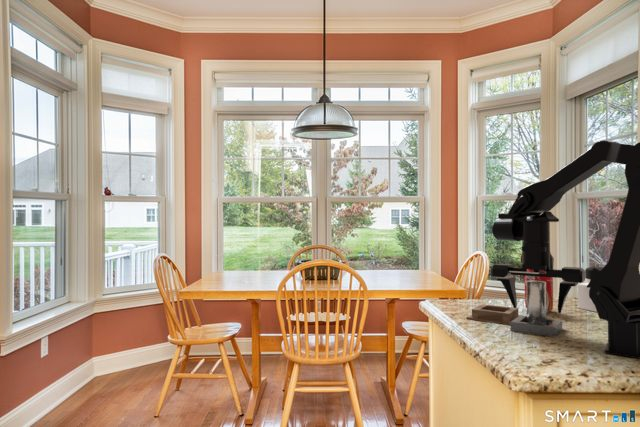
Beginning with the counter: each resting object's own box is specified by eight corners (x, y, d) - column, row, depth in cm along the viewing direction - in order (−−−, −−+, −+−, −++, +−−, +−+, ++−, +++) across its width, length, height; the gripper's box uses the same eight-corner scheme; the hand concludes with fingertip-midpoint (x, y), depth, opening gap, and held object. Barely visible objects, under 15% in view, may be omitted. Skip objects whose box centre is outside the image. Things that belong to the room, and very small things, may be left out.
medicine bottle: (599, 313, 116) (599, 268, 117) (577, 308, 123) (576, 266, 124) (620, 311, 118) (619, 268, 119) (597, 306, 125) (596, 265, 125)
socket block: (555, 337, 91) (555, 327, 91) (510, 330, 97) (510, 321, 97) (562, 328, 99) (562, 320, 99) (520, 323, 104) (520, 315, 104)
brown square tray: (512, 325, 102) (512, 315, 102) (466, 318, 109) (466, 309, 109) (523, 317, 111) (523, 307, 111) (480, 311, 118) (480, 303, 118)
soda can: (519, 309, 121) (518, 267, 121) (536, 307, 124) (536, 266, 124) (541, 314, 114) (540, 269, 115) (559, 312, 117) (558, 268, 118)
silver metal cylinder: (544, 333, 95) (544, 283, 95) (525, 330, 97) (524, 281, 98) (548, 329, 98) (547, 281, 98) (529, 326, 101) (528, 280, 101)
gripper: (587, 241, 99) (588, 309, 98) (502, 240, 110) (503, 300, 110) (581, 243, 90) (582, 318, 90) (489, 241, 101) (490, 307, 101)
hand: (536, 310), depth 98 cm, fingers open, 9 cm apart
